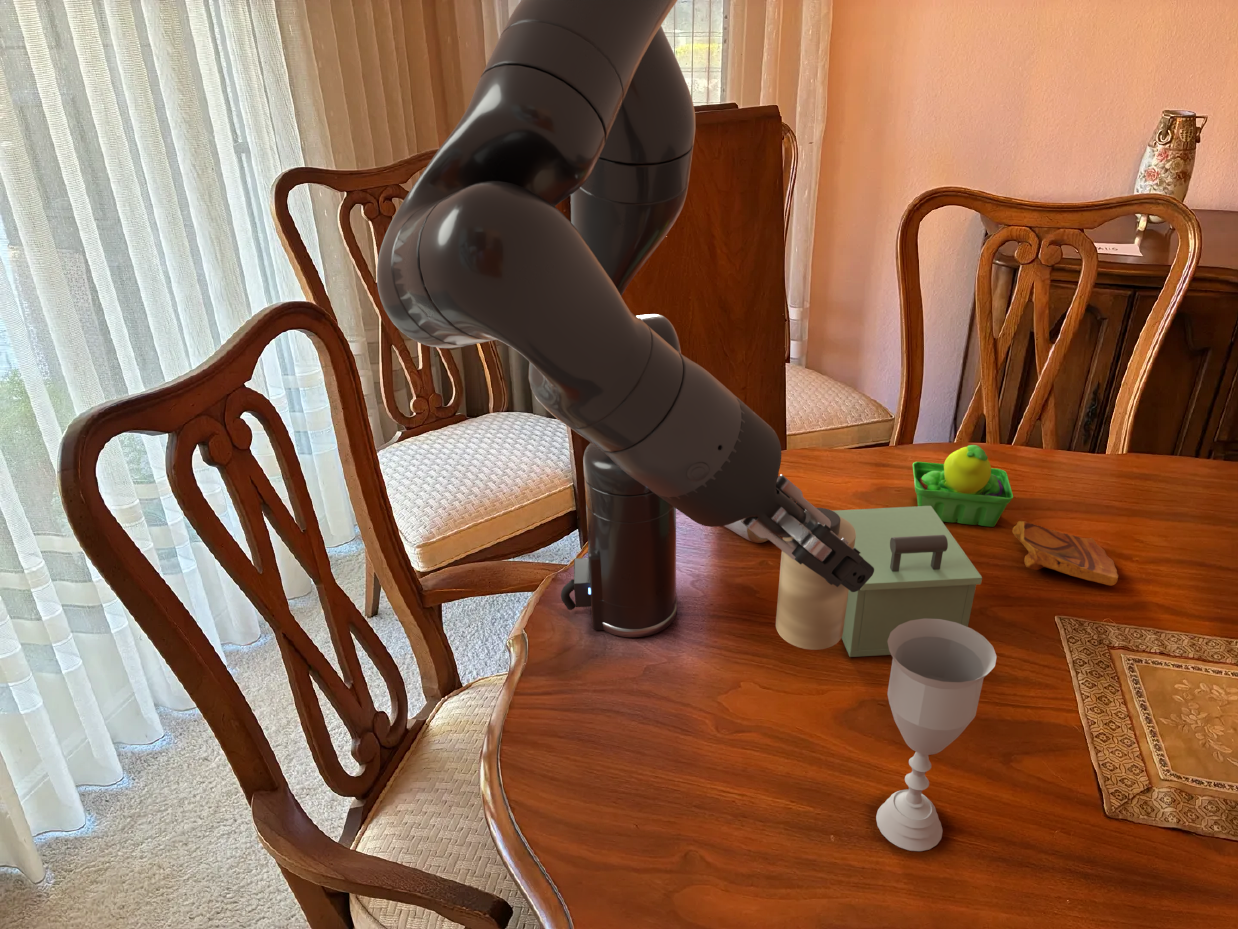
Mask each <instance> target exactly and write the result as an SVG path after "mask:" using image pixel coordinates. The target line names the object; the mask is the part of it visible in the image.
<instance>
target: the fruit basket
mask: <svg viewBox="0 0 1238 929" xmlns="http://www.w3.org/2000/svg"><path fill="white" fill-rule="evenodd" d="M988 458H989V457H988V455H987V453H986V451H985V450H984V449H982V447H980V446H979V445H977V444H969V445H967V446H964V447H961V448H958V449H957V450H954V451H953V452H951V453H950V454H949V455H947V457H946V459H945V460H944V463H939V462H938V463H937V462H928V461H927V462H926V461H914V462H913V463H912V464H911V465H912V472H913V480H914V482H913V483H914V492H915V494H916V501H917V506H932V508H933V509H934V511H935V512H936V513H937V515H938V516H939V518H940V519H941V521H942V522H943V523H951V524H954V523H957V524H960V525H961V524H962V525H969V526H970V525H971V526H982V527H989V528H994V527H995V526H996V524H997V523H998V521H999V519H1000V517H1001V516H1002V514H1003V513H1004V511H1005V509H1006V507H1007V506H1008V505H1009V504H1010V502H1011V501H1012V500H1013V498H1014V494H1013V490H1012V487H1011V486H1012V485H1011V483H1010V480H1009V476H1008V473H1007V472H1006V470H1004V469H1001V468H996V467H995V468H994V467H992V465H991V462H990V461H989V459H988Z"/></svg>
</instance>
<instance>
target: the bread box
mask: <svg viewBox="0 0 1238 929" xmlns="http://www.w3.org/2000/svg"><path fill="white" fill-rule="evenodd" d="M976 588H977V584H976V585H957V586H938V587H919V588H901V589H882V590H863V591H861V590H858V591H856V592H851V591H850V590H849V591H848V599H847V607H846V614H845V622H844V629H843V635H842V638H841V640H842V643H843V645H844V647H845V649H846V652H847V655H848V656H849V658H857V657H858V658H859V657H875V656H892V655H891V653H890V651H889V647H888V642H887V641H888V638H889V636H890V633H891V632H892V631H893V630H894V629H895V628H896V627H897V626H898V625H901V624H903V623H905V622H908V621H911V620H918V619H942V620H947V621H951V622H956V623H959V624H961V625H964V626H966V627H969V623H970V618H971V614H972V607H973V603H974V598H975V594H976Z"/></svg>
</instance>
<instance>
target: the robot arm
mask: <svg viewBox="0 0 1238 929" xmlns="http://www.w3.org/2000/svg"><path fill="white" fill-rule="evenodd" d="M677 2H678V0H520V1H519V3H518V4H517V6H516V7H515V8H514V10H513V11H512V13H511V15H510V16H509V18H508V20H507V22H506V24H505V26H504V27H503V30H502V32H501V34H500V36H499V38H498V41H497V42H496V44H495V46H494V48H493V50H492V52H491V55H490V57H489V59H488V61H487V63H486V65H485V67H484V69H483V71H482V73H481V75H480V77H479V79H478V81H477V84H476V86H475V89H474V91H473V94H472V95H471V96H472V97H471V99H470V101H469V104H468V106H467V107H466V110H465V111H464V113H463V115H462V116H461V118H460V119H459V121H458V123H457V124H456V125H455V127H454V128H453V130H452V131H451V133H450V134H449V135H448V137H447V138H446V139H445V140H444V142H443V143H442V144H441V145H440V147H439V148H438V149H437V151H436V152H435V154H434V155H433V157H432V158H431V159H430V161H429V163H427V165H426V167H425V168H424V170H423V171H422V172H421V174H420V176H418V178H417V180H416V181H415V183H414V184H413V186H412V187H411V189H410V190H409V192H408V193H407V194H406V196H405V198H403V201H402V202H401V204H400V205H399V207H398V209H397V211H396V212H395V214H394V216H393V218H392V220H391V222H389V225H388V228H387V230H386V232H385V234H384V237H383V240H382V243H381V245H380V249H379V253H378V257H377V263H376V264H377V265H376V268H377V269H376V286H377V291H378V295H379V299H380V302H381V305H382V307H383V309H384V311H385V313H386V316H388V318H389V320H390V321H391V323H392V324H393V325H394V326H395V327H396V328H397V329H398V330H399V331H400V332H401V333H402V334H403V335H404V336H406V337H407V338H409V339H410V340H413V341H414V342H416V343H419V344H421V345H424V346H426V347H432V348H439V349H456V348H464V347H469V346H472V345H478V344H482V343H487V342H488V343H489V342H493V341H499V342H501V343H503V344H504V345H506V346H508V347H510V348H512V349H513V350H515V351H516V352H518V354H520V355H521V356H522V357H524V359H525V360H527V361H528V362H529V364H528V382H529V386H530V390H531V392H532V394H533V396H534V397H535V399H536V400H537V401H538V403H539V404H540V405H541V406H542V407H543V408H544V409H545V410H546V411H547V412H548V413H549V414H551V415H552V416H553V417H554V418H556V420H558V421H560V422H561V423H563V424H564V425H565V426H566V427H568V428H569V429H571V430H572V431H574V432H575V433H576V434H578V435H580V436H581V437H582V438H584V439H585V440H586V441H588V442H589V444H588V445H587V446H586V447H585V450H584V452H583V458H582V461H583V463H582V464H583V477H584V491H585V492H584V493H585V511H586V530H587V557H580V558H579V557H578V558H574V559H573V578H572V579H571V580H569V581H568V582H567V583H566V584H565V585H564V586H563V588H561V592H560V598H561V601H562V603H563V604H564V606H565V607H566V608H567V610H568V611H572V610H574V609H575V608H587V607H588V608H590V612H591V626H592V630H593V631H604V632H607V633H609V634H611V635H614V636H618V637H622V638H642V637H648V636H651V635H655V634H658V633H660V632H662V631H664V630H665V629H667V628H668V627H669V626H670V625H671V624H672V623H673V622H674V620H675V619H676V617H677V613H678V599H677V511H679V512H680V513H682V514H683V515H685V517H688V518H689V519H690V520H691V521H693V522H694V523H696V524H698V525H700V526H705V527H710V528H718V527H719V528H720V527H725V525H729V524H732V523H734V522H736V521H739V520H741V522H742V523H743V524H744V525H745V526H746V527H747V528H748V529H750V530H751V531H752V532H753V533H754V534H756V535H757V536H758V537H760V538H762V539H765V538H766V539H768V541H770V542H771V543H772V544H773V545H774V546H776V547H777V548H778V549H780V550H781V552H782V551H783V552H785V553H786V554H787V555H788V556H790V557H791V558H792V559H793V560H796V561H797V562H798V563H799V564H802V563H803V564H804V565H805V566H807V567H808V568H810V569H811V570H813V571H814V572H816V573H817V574H819V575H820V576H822V577H823V578H824V579H826V581H827V582H828V583H829V584H831V585H832V584H833V585H835V586H836V587H838V586H839V585H840V584H842V585H843V586H845V587H846V588H847V589H848V590H850V591H851V592H856V591H858V590H860V589H861V588H862V586H863V585H864V584H865V583H866V582H867V581H868V580H869V579H870V577H871V576H872V575H873V573H874V567H873V566H871V565H870V564H869V563H868V562H867V561H865V560H864V559H863V557H862V556H860V555H859V554H860V552H859V551H858V550H857V549H856V548H853V549H852V548H851V547H850V546H849V545H848V543H849V542H848V541H847V540H845V539H844V538H842V539H841V538H839V537H838V536H837V535H836V534H835V533H833V532H832V531H831V530H832V529H831V528H830V526H831V521H830V519H829V518H827V517H826V516H825V515H824V514H823V513H822V512H820V511H819V510H818V509H817V508H818V507H816V506H814V505H813V504H812V503H811V502H810V501H808V500H807V499H806V498H805V497H804V494H803V491H802V490H801V489H800V488H799V487H798V486H796V485H795V484H794V483H793V482H792V481H790V479H788V478H787V477H786V476H785V475H783V473H780V468H781V465H782V464H781V463H782V446H781V442H780V439H779V436H778V434H777V433H776V431H775V429H774V428H773V427H772V426H771V425H769V424H768V423H767V422H766V421H765V420H764V419H763V418H762V417H760V416H759V415H758V414H757V413H756V412H755V411H754V410H753V409H752V408H750V407H749V406H748V405H747V404H746V403H745V402H743V400H741V399H740V398H739V397H737V396H736V395H735V394H734V393H733V392H732V391H731V390H730V389H729V388H727V387H726V386H725V385H724V384H723V383H722V382H721V381H719V380H718V379H717V378H716V377H715V376H713V375H712V374H711V373H710V372H709V371H708V370H706V369H705V368H704V367H702V366H701V365H700V364H698V363H697V362H695V361H693V360H691V359H690V358H688V357H686V356H685V355H683V353H682V350H681V345H680V339H679V336H678V334H677V331H676V329H675V326H674V325H673V324H672V322H671V321H670V320H669V319H668V318H667V317H665V316H664V315H662V314H659V313H658V314H657V313H650V314H649V313H648V314H640V315H635V314H634V313H633V312H632V311H631V310H630V308H629V307H628V305H627V303H626V302H625V299H623V297H622V296H623V295H624V293H625V291H626V290H627V287H628V286H629V285H630V283H631V282H632V281H633V280H634V278H635V276H636V275H637V274H638V273H639V271H640V270H641V268H642V267H643V266H644V265H645V264H646V262H647V261H648V260H649V259H650V258H651V256H652V255H653V254H654V252H655V251H656V250H657V249H658V247H659V246H660V245H661V244H662V242H663V240H664V239H665V238H666V236H667V235H668V234H669V232H670V230H671V228H673V226H674V225H675V223H676V221H677V219H678V218H679V216H680V214H681V212H682V210H683V208H684V205H685V202H686V198H687V195H688V190H689V183H690V177H691V176H690V175H691V169H692V162H693V155H694V154H693V153H694V146H695V137H696V111H695V105H694V102H693V98H692V94H691V91H690V89H689V87H688V86H689V85H688V84H687V81H686V79H685V76H684V73H683V71H682V69H681V67H680V65H679V64H680V63H679V62H678V59H677V57H676V54H675V53H674V51H673V48H672V46H671V44H670V42H669V40H668V37H667V35H666V33H665V31H664V29H663V27H662V25H663V23H664V21H665V20H666V18H667V16H668V15H669V13H670V12H671V11H672V9H673V8H674V6H675V5H676V3H677ZM568 198H570V220H569V218H568V217H566V215H565V214H564V213H563V212H562V211H560V209H559V208H557V205H559V204H560V203H561V202H563V201H564V200H566V199H568ZM779 473H780V474H779ZM804 511H808V512H809V513H810V520H809V522H808V523H807V524H806V525H805V526H804V525H803V523H804V522H805V520H806V513H805V512H804ZM791 536H792V537H793V538H794V539H793V540H791V541H785V540H783V537H784V538H788V537H791ZM573 591H574V592H573ZM572 592H573V593H574V600H573V598H572V597H571V593H572Z"/></svg>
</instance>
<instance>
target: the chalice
mask: <svg viewBox="0 0 1238 929" xmlns="http://www.w3.org/2000/svg"><path fill="white" fill-rule="evenodd" d="M887 642H888V647H889V651H890V653H891V655H890V656H891V658H892V660H891V667H890V675H889V681H888V687H887V692H886V693H887V699H888V704H889V707H890V711H891V713H892V717H893V721H894V722H895V724H896V727H897V728H898V731H899V732H900V734H901V737H902V739H903V740H904V742H905V745H907V747H908V748H910V749H911V750H912V751H915V753H914V754H913V756H912V757H910V758H909V759H908V765H909V767H910V768H911V772H909V773H906V775H905V776H904V782H905V784H906V785H907V787H908V789H907V788H905V789H901V790H897V791H895V792H894V793H892V794H891V795H890V796H889V797H888V798H887V799H886V800H885V802H883V803H881V805H880V806H879V808H878V809H877V812H876V816H875V820H876V826H877V828H878V829H879V831H880V834H881V835H882V836H883V837H885V839H886V840H887V841H888V842H890V843H891V844H893V845H895V846H896V847H897V848H901V849H903V850H907V851H911V852H923V851H928V850H931V849H932V848H934V847H936V846H937V845H938V844H939V843H940V842H941V840H942V837H943V831H944V830H943V827H942V822H941V820H940V819H939V814H938V813H937V809H936V807H935V805H934V803H933V802H932V800H930V799H929V797H927V796H926V795H925V794H923V791H925V790H926V789H928V788H929V786H930V781H929V779H928V777H927V776H926V773H927V772H928V771H930V770H931V769H932V763H931V761H930V759H929V758H930V757H929V755H930V756H931V755H936V754H938V753H940V752H942V751H943V750H945V749H946V748H948V746H949V745H951V744H952V743H953V742H954V741H955V740H957V739H958V738H959V737H960V736H961V734H962V733H963V732H964V731H965V730H966V728H968V726H969V725H970V724H971V722H972V721H973V720H974V719H975V717H976V715H977V711H978V706H979V702H980V698H981V693H982V688H983V683H984V678H986V676H988V675H989V674H990V672H992V670H993V669H994V668H995V667H996V663H997V657H998V656H997V654H996V651H995V649H994V646H993V644H991V642H990V641H989V640H988V639H987V638H986V637H985V636H984V635H982V634H981V633H979V632H978V631H977V630H975V629H973V628H972V627H969V626H968V627H966V626H964V625H961V624H959V623H956V622H951V621H947V620H942V619H918V620H911V621H908V622H905V623H903V624H901V625H898V626H897V627H896V628H895V629H894V630H893V631H892V632H891V633H890V636H889V638H888V641H887Z"/></svg>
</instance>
